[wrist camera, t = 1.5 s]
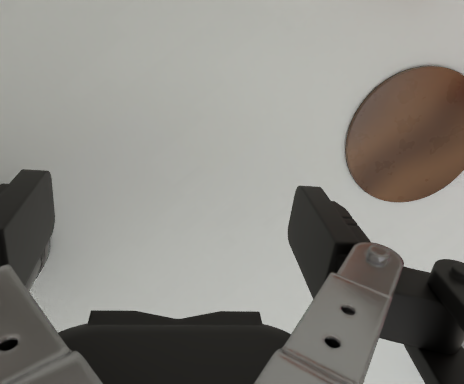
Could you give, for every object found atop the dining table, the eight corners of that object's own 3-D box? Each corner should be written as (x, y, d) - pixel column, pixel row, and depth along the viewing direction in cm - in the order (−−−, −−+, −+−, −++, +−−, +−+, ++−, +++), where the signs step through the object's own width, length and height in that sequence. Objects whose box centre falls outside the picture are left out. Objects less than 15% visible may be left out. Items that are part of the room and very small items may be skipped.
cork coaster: (317, 164, 34) (319, 166, 34) (409, 35, 31) (411, 36, 30) (416, 219, 38) (419, 222, 38) (509, 111, 34) (513, 112, 34)
